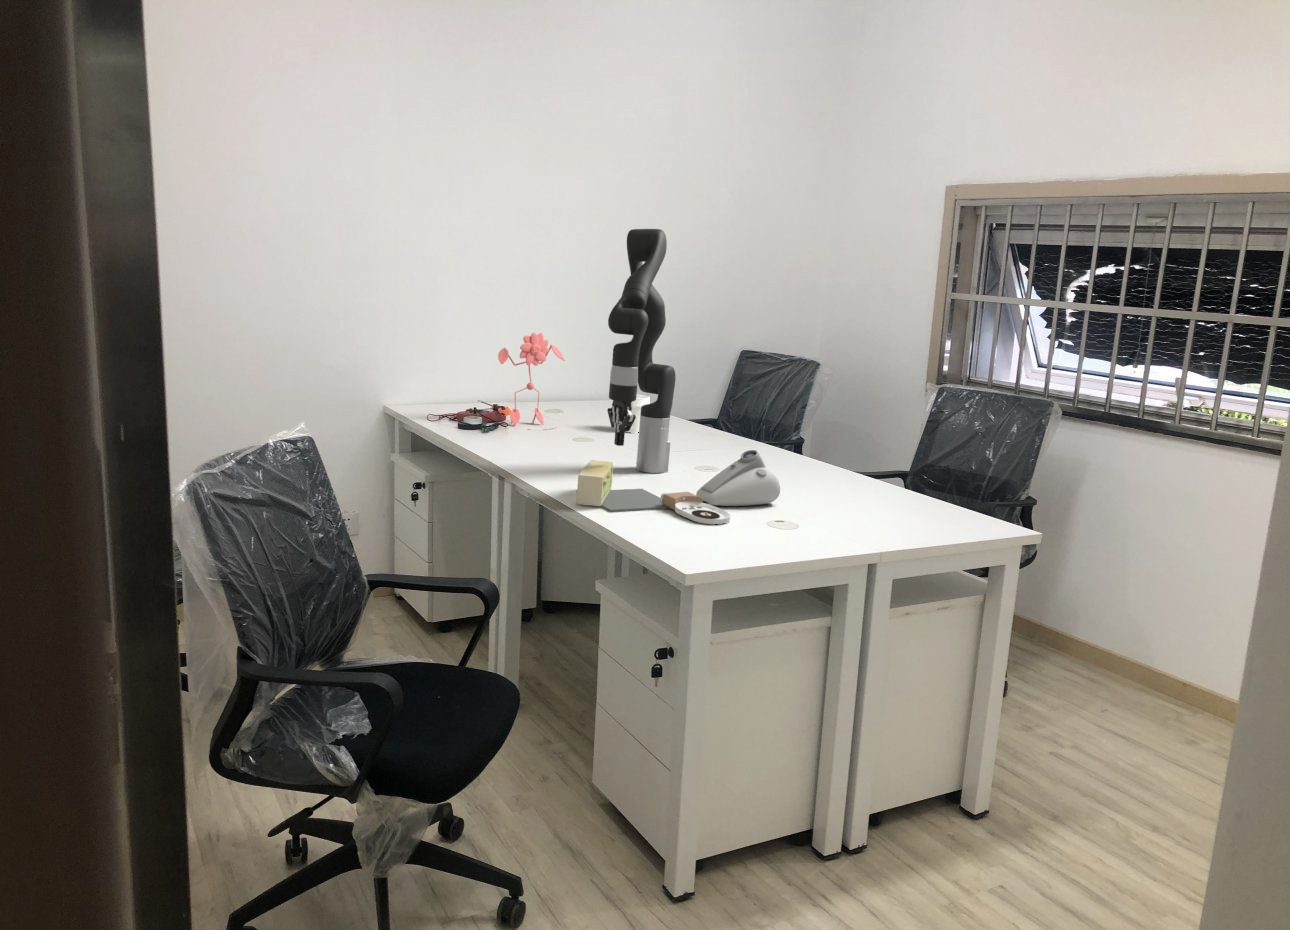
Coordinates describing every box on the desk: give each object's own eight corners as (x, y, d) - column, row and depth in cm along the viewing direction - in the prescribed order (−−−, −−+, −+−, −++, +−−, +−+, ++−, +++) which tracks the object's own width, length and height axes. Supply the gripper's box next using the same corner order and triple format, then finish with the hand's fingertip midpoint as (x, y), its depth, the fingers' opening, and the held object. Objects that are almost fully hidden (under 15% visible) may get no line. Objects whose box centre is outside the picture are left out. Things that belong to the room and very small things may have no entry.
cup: (647, 435, 372) (650, 399, 370) (614, 433, 372) (617, 397, 370) (647, 430, 384) (650, 395, 382) (615, 427, 384) (618, 392, 382)
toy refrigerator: (614, 490, 280) (603, 506, 260) (588, 487, 281) (575, 503, 260) (616, 462, 279) (605, 476, 258) (590, 459, 279) (577, 474, 259)
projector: (700, 488, 293) (705, 440, 290) (779, 497, 290) (784, 448, 287) (693, 506, 272) (698, 453, 269) (778, 515, 269) (783, 462, 266)
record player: (691, 490, 272) (740, 511, 257) (689, 501, 273) (738, 523, 258) (657, 493, 265) (705, 515, 250) (656, 504, 266) (704, 527, 251)
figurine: (489, 423, 370) (495, 329, 363) (550, 422, 385) (557, 331, 377) (508, 432, 358) (515, 334, 351) (570, 430, 373) (578, 336, 365)
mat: (641, 490, 284) (641, 488, 284) (676, 508, 267) (677, 506, 267) (577, 493, 274) (577, 491, 274) (610, 512, 257) (610, 509, 257)
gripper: (647, 386, 266) (642, 449, 270) (624, 379, 278) (620, 440, 281) (622, 386, 263) (617, 450, 266) (600, 378, 274) (596, 440, 278)
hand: (618, 445), depth 274 cm, fingers closed
